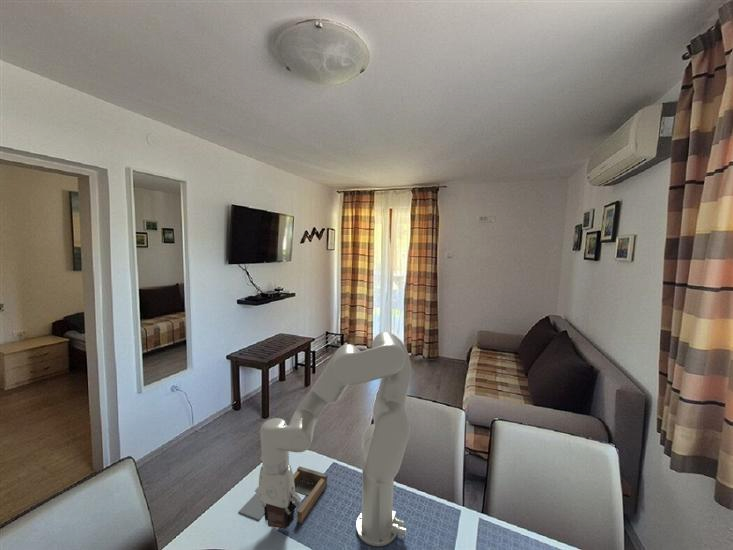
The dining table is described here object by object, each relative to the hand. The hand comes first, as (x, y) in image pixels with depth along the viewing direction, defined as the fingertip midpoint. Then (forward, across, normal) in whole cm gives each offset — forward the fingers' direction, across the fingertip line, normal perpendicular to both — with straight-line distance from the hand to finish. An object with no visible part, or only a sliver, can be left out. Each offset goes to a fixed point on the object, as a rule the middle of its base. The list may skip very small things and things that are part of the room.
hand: (279, 519), depth 93 cm
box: (+1, 0, +1) cm, 2 cm away
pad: (+4, -12, +5) cm, 14 cm away
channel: (+4, -1, +13) cm, 14 cm away
